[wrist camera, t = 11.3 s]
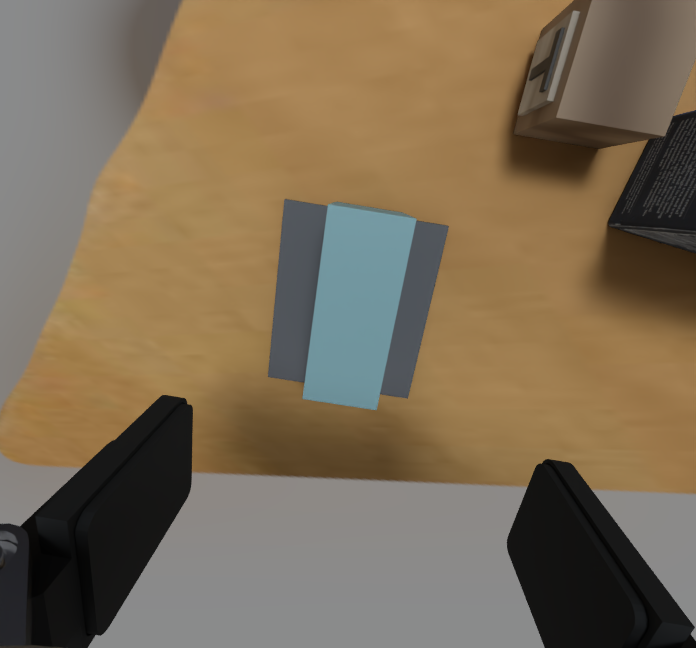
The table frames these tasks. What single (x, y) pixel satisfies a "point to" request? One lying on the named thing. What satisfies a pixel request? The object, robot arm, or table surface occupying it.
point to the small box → (663, 189)
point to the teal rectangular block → (356, 303)
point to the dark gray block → (301, 286)
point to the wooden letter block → (609, 72)
